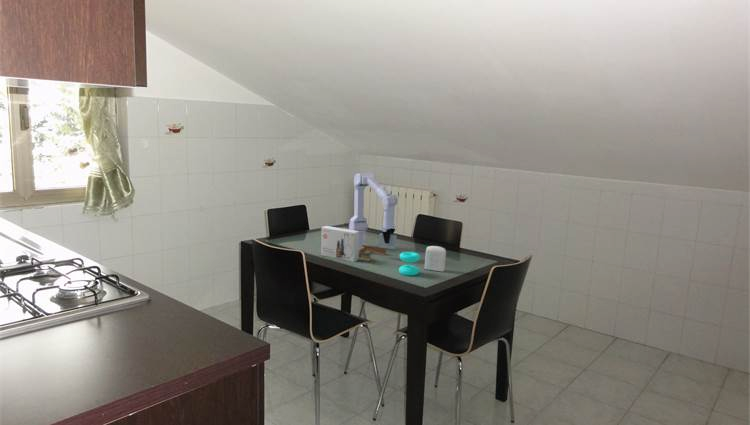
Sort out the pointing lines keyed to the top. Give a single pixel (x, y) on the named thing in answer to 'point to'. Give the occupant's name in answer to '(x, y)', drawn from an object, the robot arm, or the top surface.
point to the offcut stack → (365, 256)
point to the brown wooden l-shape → (373, 250)
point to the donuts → (409, 269)
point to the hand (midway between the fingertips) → (387, 242)
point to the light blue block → (387, 245)
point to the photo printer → (435, 258)
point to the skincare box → (340, 243)
